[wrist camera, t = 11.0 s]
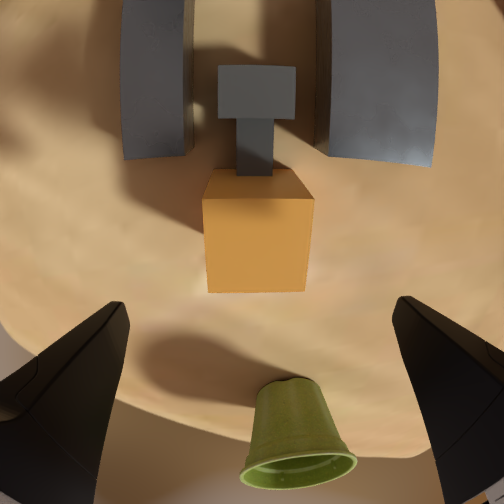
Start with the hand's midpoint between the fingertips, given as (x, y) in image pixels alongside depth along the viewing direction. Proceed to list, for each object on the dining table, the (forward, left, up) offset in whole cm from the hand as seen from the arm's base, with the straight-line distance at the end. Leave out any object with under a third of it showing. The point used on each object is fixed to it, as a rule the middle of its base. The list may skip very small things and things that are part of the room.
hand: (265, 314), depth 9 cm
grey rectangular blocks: (+2, +9, -10) cm, 13 cm away
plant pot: (+4, -18, -10) cm, 21 cm away
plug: (0, +3, -9) cm, 10 cm away
